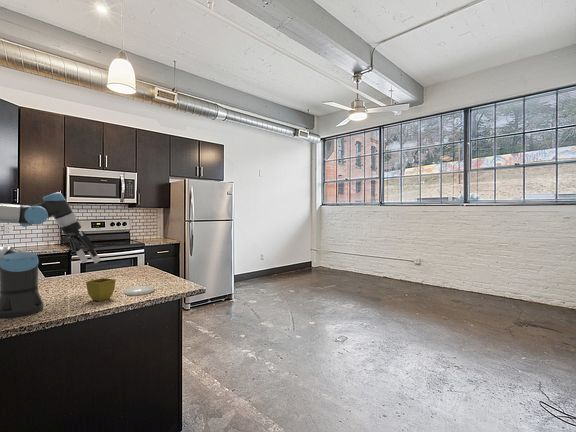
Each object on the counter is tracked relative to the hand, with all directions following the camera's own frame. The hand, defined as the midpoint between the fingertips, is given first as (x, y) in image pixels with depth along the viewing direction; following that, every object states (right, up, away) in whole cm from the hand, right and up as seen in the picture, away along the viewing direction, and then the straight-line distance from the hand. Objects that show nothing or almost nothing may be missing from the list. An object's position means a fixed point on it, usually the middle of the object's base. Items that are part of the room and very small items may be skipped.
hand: (91, 261), depth 153 cm
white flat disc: (+22, -16, +5) cm, 27 cm away
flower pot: (+11, -16, -10) cm, 22 cm away
